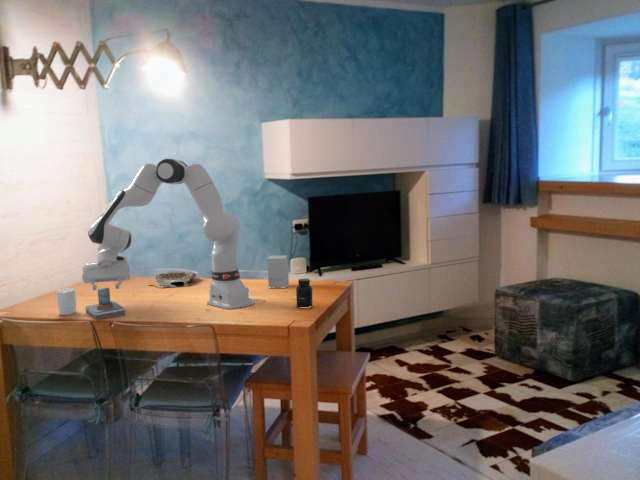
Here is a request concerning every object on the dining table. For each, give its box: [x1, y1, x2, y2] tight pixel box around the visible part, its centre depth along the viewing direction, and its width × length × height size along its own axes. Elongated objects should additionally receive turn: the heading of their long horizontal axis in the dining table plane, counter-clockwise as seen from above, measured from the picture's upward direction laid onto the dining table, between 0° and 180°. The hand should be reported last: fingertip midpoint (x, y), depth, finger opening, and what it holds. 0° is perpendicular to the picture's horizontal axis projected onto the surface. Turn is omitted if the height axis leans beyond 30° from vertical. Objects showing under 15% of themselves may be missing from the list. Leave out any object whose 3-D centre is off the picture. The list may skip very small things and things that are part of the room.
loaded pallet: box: [97, 287, 113, 309], centre depth 250 cm, size 7×5×8 cm
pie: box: [152, 271, 197, 289], centre depth 310 cm, size 28×27×5 cm
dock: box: [84, 301, 126, 320], centre depth 251 cm, size 14×12×3 cm
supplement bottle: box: [295, 278, 313, 308], centre depth 252 cm, size 7×7×12 cm
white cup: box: [55, 287, 77, 316], centre depth 254 cm, size 8×8×10 cm
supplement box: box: [266, 255, 290, 289], centre depth 292 cm, size 9×9×15 cm
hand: (106, 288), depth 258 cm, fingers open, 8 cm apart
